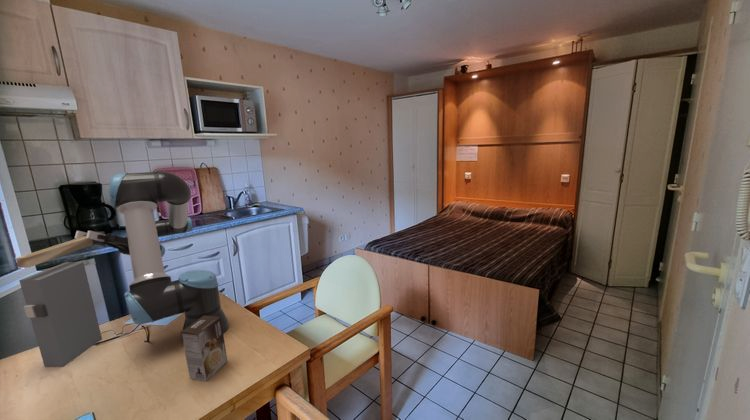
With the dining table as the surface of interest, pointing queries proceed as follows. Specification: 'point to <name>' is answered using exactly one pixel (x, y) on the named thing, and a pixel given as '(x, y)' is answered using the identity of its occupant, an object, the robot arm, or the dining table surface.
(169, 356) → the dining table surface
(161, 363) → the dining table surface
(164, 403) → the dining table surface
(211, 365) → the coffee box
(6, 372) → the dining table surface
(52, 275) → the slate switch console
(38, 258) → the wooden bar
